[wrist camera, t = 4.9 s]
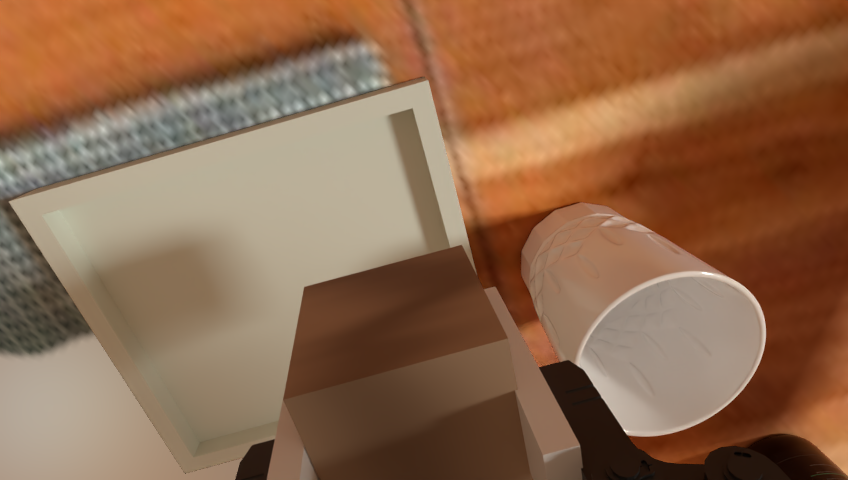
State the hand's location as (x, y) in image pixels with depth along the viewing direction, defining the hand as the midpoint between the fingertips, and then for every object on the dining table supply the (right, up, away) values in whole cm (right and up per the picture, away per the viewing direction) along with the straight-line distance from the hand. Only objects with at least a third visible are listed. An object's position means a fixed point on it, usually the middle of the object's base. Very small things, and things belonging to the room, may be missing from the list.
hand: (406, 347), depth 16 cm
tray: (-7, +1, +12) cm, 14 cm away
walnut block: (0, 0, 0) cm, 1 cm away
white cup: (+9, +3, +13) cm, 16 cm away
